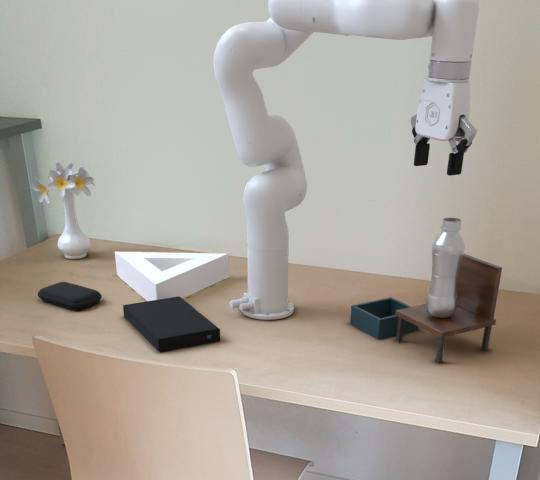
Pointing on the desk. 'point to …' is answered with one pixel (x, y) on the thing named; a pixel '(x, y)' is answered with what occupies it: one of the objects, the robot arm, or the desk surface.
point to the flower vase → (68, 206)
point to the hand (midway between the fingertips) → (436, 170)
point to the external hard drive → (171, 324)
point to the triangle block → (170, 272)
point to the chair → (461, 305)
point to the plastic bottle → (445, 270)
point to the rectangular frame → (379, 317)
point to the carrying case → (69, 295)
